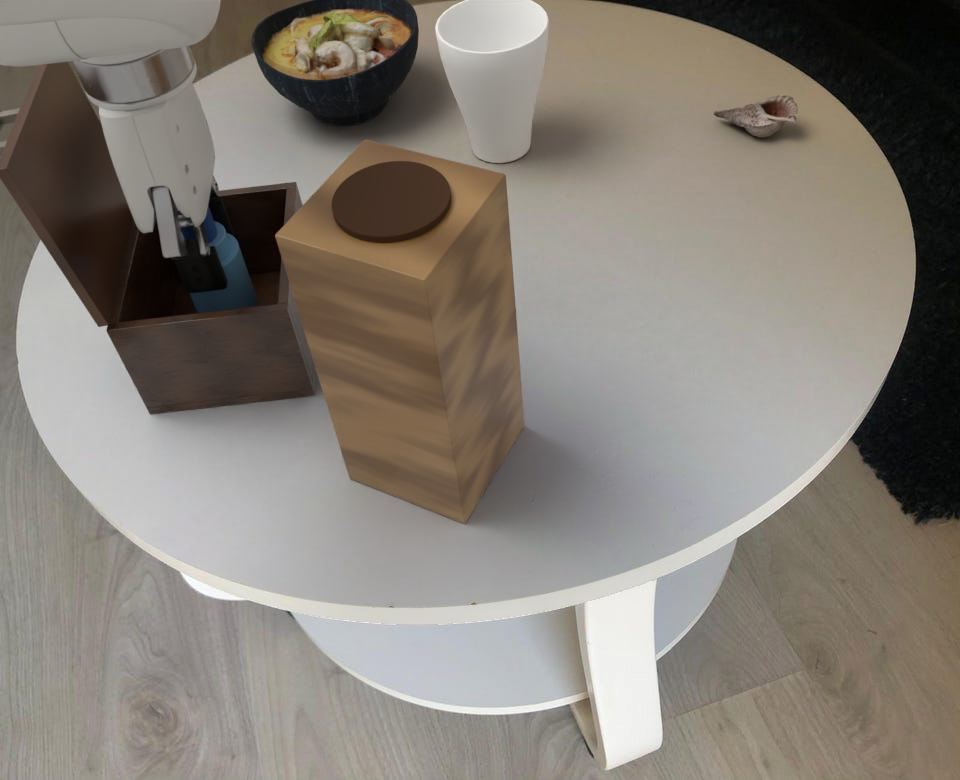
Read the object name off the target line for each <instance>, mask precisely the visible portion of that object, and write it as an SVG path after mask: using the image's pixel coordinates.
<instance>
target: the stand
mask: <svg viewBox="0 0 960 780" xmlns="http://www.w3.org/2000/svg"><path fill="white" fill-rule="evenodd" d="M390 161H411V162H417V163H421V164H425V165H428V166H430V167H432V168H434V169H436V170H437V171H439V172H440V173H441V174H442V175H443V176H444V177H445V178H446V180H447V181H448V183H449V186H450V189H451V197H452V199H451V205H450V208H449V211H448V213H447V214H446V216H445V217H444V218H443V219H442V221H441V222H440V223H439V224H437V225H436V226H435V227H434V228H432V229H431V230H429V231H427V232H426V233H424V234H422V235H419V236H417V237H414V238H411V239H408V240H404V241H399V242H392V243H375V242H368V241H363V240H360V239H357V238H354V237H352V236H350V235H348V234H347V233H345V232H344V231H343V230H342V229H341V228H340V227H339V226H338V225H337V223H336V221H335V219H334V216H333V212H332V198H333V196H334V193H335V191H336V190H337V188H338V187H339V186H340V184H341V183H342V182H343V181H344V180H345V179H347V178H348V177H349V176H351V175H352V174H354V173H355V172H357V171H359V170H361V169H363V168H366V167H368V166H371V165H375V164H379V163H383V162H390ZM508 197H509V196H508V186H507V175H506V173H502V172H498V171H494V170H490V169H487V168H482V167H478V166H474V165H471V164H466V163H462V162H459V161H454V160H450V159H447V158H443V157H438V156H434V155H430V154H427V153H426V154H425V153H422V152H418V151H414V150H410V149H406V148H403V147H398V146H394V145H389V144H387V143H386V144H385V143H381V142H378V141H374V140H370V139H365V138H364V139H363V141H361V142H360V144H359V145H357V147H356V148H355V149H354V150H353V151H352V152H351V153H350V154H349V155H348V156H347V158H345V160H344V161H343V162H342V163H341V164H340V165H339V166H338V167H337V168H336V169H335V170H334V172H333V173H331V175H329V177H328V178H327V179H325V181H323V183H322V184H321V185H320V186H319V187H318V189H316V190H315V192H314V193H312V195H311V196H310V197H309V198H308V199H307V200H306V201H305V202H304V203H303V204H302V205H303V206H302V207H301V208H300V209H299V210H298V211H297V212H296V213H295V214H294V215H293V216H292V217H291V219H290V220H289V221H288V222H287V223H286V224H285V225H284V226H283V227H282V228H281V229H280V230H279V231H278V232H277V233H276V235H275V237H276V241H277V244H278V247H279V250H280V254H281V257H282V260H283V263H284V267H285V270H286V273H287V276H288V280H289V283H290V286H291V289H292V293H293V296H294V299H295V303H296V306H297V309H298V312H299V316H300V319H301V322H302V325H303V329H304V332H305V335H306V338H307V342H308V345H309V348H310V351H311V355H312V358H313V361H314V365H315V372H316V375H317V378H318V380H319V384H320V387H321V390H322V394H323V397H324V400H325V404H326V407H327V410H328V414H329V416H330V420H331V424H332V426H333V431H334V433H335V436H336V440H337V443H338V446H339V449H340V452H341V456H342V459H343V462H344V465H345V469H346V472H347V476H348V478H349V479H350V480H352V481H355V482H357V483H360V484H362V485H365V486H367V487H370V488H372V489H375V490H378V491H379V492H381V493H382V492H383V493H385V494H388V495H390V496H393V497H395V498H398V499H400V500H403V501H405V502H408V503H411V504H413V505H415V506H418V507H421V508H423V509H425V510H428V511H431V512H433V513H436V514H439V515H441V516H443V517H445V518H448V519H451V520H454V521H456V522H459V523H461V524H463V525H466V524H467V521H468V520H469V518H470V517H471V515H472V514H473V511H474V510H475V508H476V507H477V505H478V504H479V502H480V500H481V498H482V496H484V493H485V492H486V490H487V488H488V487H489V485H490V484H491V482H492V480H493V478H494V477H495V475H496V474H497V472H498V470H499V469H500V467H501V465H502V464H503V462H504V461H505V459H506V457H507V456H508V454H509V452H510V451H511V449H512V447H513V445H514V444H515V442H516V440H517V439H518V437H519V436H520V434H521V432H522V431H523V429H524V427H525V414H524V401H523V388H522V374H521V373H522V372H521V360H520V359H521V358H520V348H519V332H518V320H517V307H516V306H517V305H516V295H515V294H516V292H515V279H514V267H513V266H514V265H513V253H512V251H513V250H512V239H511V227H510V226H511V225H510V211H509V199H508Z"/></svg>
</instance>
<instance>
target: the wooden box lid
mask: <svg viewBox="0 0 960 780" xmlns="http://www.w3.org/2000/svg"><path fill="white" fill-rule="evenodd" d="M8 124H12V127H11V130H10V132H9V134H8V137H7V139H6V140H3V141H0V180H1V182H2V184H3V185H4V187H5V188H6V189H7V191H8V193H9V194H10V195H11V197H12V199H13V201H14V202H15V203H16V205H17V207H18V208H19V209H20V211H21V212H22V214H23V215H24V217H25V218H26V221H28V223H29V225H30V226H31V227H32V228H33V230H34V232H35V233H36V235H37V237H38V238H39V239H40V241H41V242H42V245H44V248H45V249H46V250H47V251H48V253H49V254H50V256H51V258H52V259H53V261H54V262H55V263H56V265H57V266H58V268H59V270H60V271H61V272H62V275H63V276H64V277H65V279H66V281H68V283H69V285H70V286H71V289H72V290H73V291H74V292H75V294H76V295H77V297H78V298H79V300H80V301H81V303H82V304H83V306H84V308H85V309H86V311H87V312H88V314H89V315H90V317H91V318H92V319H93V321H94V323H95V324H96V325H97V327H98V328H101V327H107V325H109V321H110V317H111V312H112V308H113V304H114V300H115V295H116V291H117V287H118V283H119V278H120V274H121V270H122V266H123V262H124V257H125V253H126V249H127V245H128V240H129V236H130V232H131V228H132V223H133V216H132V214H131V211H130V209H129V206H128V203H127V201H126V198H125V195H124V193H123V190H122V187H121V185H120V182H119V179H118V177H117V174H116V171H115V168H114V165H113V162H112V159H111V156H110V153H109V150H108V147H107V143H106V140H105V136H104V133H103V129H102V125H101V120H100V118H99V117H98V115H97V114H96V112H95V110H94V108H93V106H92V104H91V101H90V100H89V99H88V97H87V95H86V93H85V90H84V88H83V86H82V85H81V84H80V81H79V79H78V78H77V76H76V74H75V72H74V71H73V69H72V67H71V65H70V63H69V61H68V62H60V63H51V64H43V65H36V66H35V70H34V72H33V74H32V77H31V80H30V82H29V85H28V87H27V90H26V92H25V95H24V97H23V100H22V101H21V105H20V107H17V108H13V109H8V110H1V109H0V135H1V134H2V131H3V129H4V127H5V125H8Z"/></svg>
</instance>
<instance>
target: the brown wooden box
mask: <svg viewBox="0 0 960 780" xmlns="http://www.w3.org/2000/svg"><path fill="white" fill-rule="evenodd" d="M216 198H222V200H223V203H224V206H225V209H226V212H227V215H228V218H229V220H230V223H231V226H232V229H233V232H234V238H235V239H236V240H237V242H238V244H239V247H240V250H241V253H242V256H243V259H244V262H245V265H246V267H247V270H248V273H249V276H250V279H251V282H252V285H253V288H254V291H255V294H256V296H257V299H258V302H259V305H260V306H257V307H249V308H240V309H231V310H222V311H214V312H205V313H197V310H196V308H195V305H194V303H193V300H192V298H191V296H190V293H189V292H188V291H187V290H186V288H185V286H184V283H183V281H182V278H181V276H180V274H179V271H178V269H177V266H176V264H175V262H174V260H172V259H171V258H164V256H163V253H162V248H161V242H160V236H159V230H158V224H157V218H156V220H155V225H154V229H153V232H148V233H142V232H141V231H140V230H139V229H138V228H137V226H136V224H135V221H134V219H133V223H132V228H131V232H130V236H129V240H128V245H127V249H126V253H125V257H124V262H123V266H122V270H121V274H120V278H119V283H118V287H117V291H116V295H115V300H114V304H113V308H112V312H111V317H110V321H109V325H107V326H106V330H105V331H106V333H107V335H108V337H109V339H110V341H111V343H112V345H113V348H115V350H116V353H117V354H118V356H119V358H120V360H121V362H122V364H123V366H124V368H125V369H126V372H127V373H128V375H129V377H130V379H131V381H132V383H133V385H134V387H135V389H136V391H137V392H138V394H139V396H140V398H141V400H142V402H143V404H144V406H145V408H146V410H147V412H148V414H149V415H153V414H155V415H156V414H162V413H172V412H179V411H180V412H181V411H188V410H197V409H206V408H207V409H208V408H216V407H225V406H234V405H242V404H243V405H244V404H251V403H260V402H268V401H278V400H285V399H294V398H303V397H312V396H315V391H316V390H315V389H316V368H315V365H314V361H313V358H312V355H311V351H310V348H309V345H308V342H307V338H306V335H305V332H304V329H303V325H302V322H301V319H300V316H299V312H298V309H297V306H296V303H295V299H294V296H293V293H292V289H291V286H290V283H289V280H288V276H287V273H286V270H285V267H284V263H283V260H282V257H281V254H280V250H279V247H278V244H277V241H276V237H275V235H276V233H277V232H278V231H279V230H280V229H281V228H282V227H283V226H284V225H285V224H286V223H287V222H288V221H289V220H290V219H291V217H292V216H293V215H294V214H295V213H296V212H297V211H298V210H299V209H300V208H301V207H302V206H303V205H304V204H303V201H302V198H301V194H300V189H299V187H298V183H297V182H296V181H293V182H292V181H290V182H283V183H282V182H281V183H274V184H265V185H256V186H248V187H247V186H246V187H239V188H238V187H237V188H231V189H221V190H220V189H219V196H218V197H214V199H216Z"/></svg>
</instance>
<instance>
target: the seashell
mask: <svg viewBox="0 0 960 780" xmlns="http://www.w3.org/2000/svg"><path fill="white" fill-rule="evenodd" d="M798 111H799V106H798V104H797V102H795V100H794V98H793V96H790V95H789V94H788V95H787V94H782V95H780V94H776V95H774V96H770V97H768V98H765V99H763V100H759V101H757V102H755V103H749V104H746V105H744V106H743V107H735V108H731V109H726V110H715V111H713V116H715V117H716V118H720V119H724V120H727V121H728V122H730V123H731V124H735V126H737V127H739V128H744V129H745V130H746V132H747V133H749V134H750V135H752V136H754V137H757V138H768V137H771V136H773V135H774V134H776V133H777V132H778V131H780V129H781V128H782V126H784V124H785V123H788V124H789V123H790V124H792V125H793V124H794V125H796V123H797V122H796V121H797V116H796V115H797V114H798Z"/></svg>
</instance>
